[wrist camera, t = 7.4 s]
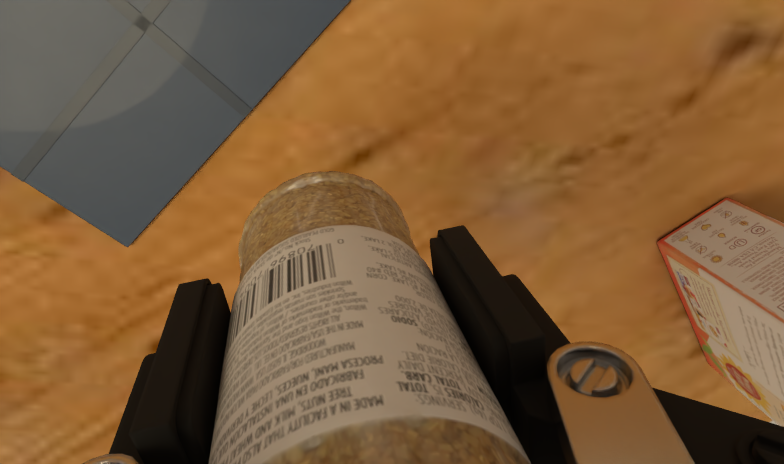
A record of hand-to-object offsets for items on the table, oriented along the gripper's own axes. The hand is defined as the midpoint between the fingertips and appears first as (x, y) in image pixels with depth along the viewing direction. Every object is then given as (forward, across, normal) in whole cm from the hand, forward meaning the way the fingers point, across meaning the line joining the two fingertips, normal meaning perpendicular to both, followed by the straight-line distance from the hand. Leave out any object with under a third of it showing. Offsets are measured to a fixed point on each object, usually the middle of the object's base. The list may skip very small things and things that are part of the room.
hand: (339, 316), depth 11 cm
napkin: (+18, +6, -6) cm, 20 cm away
